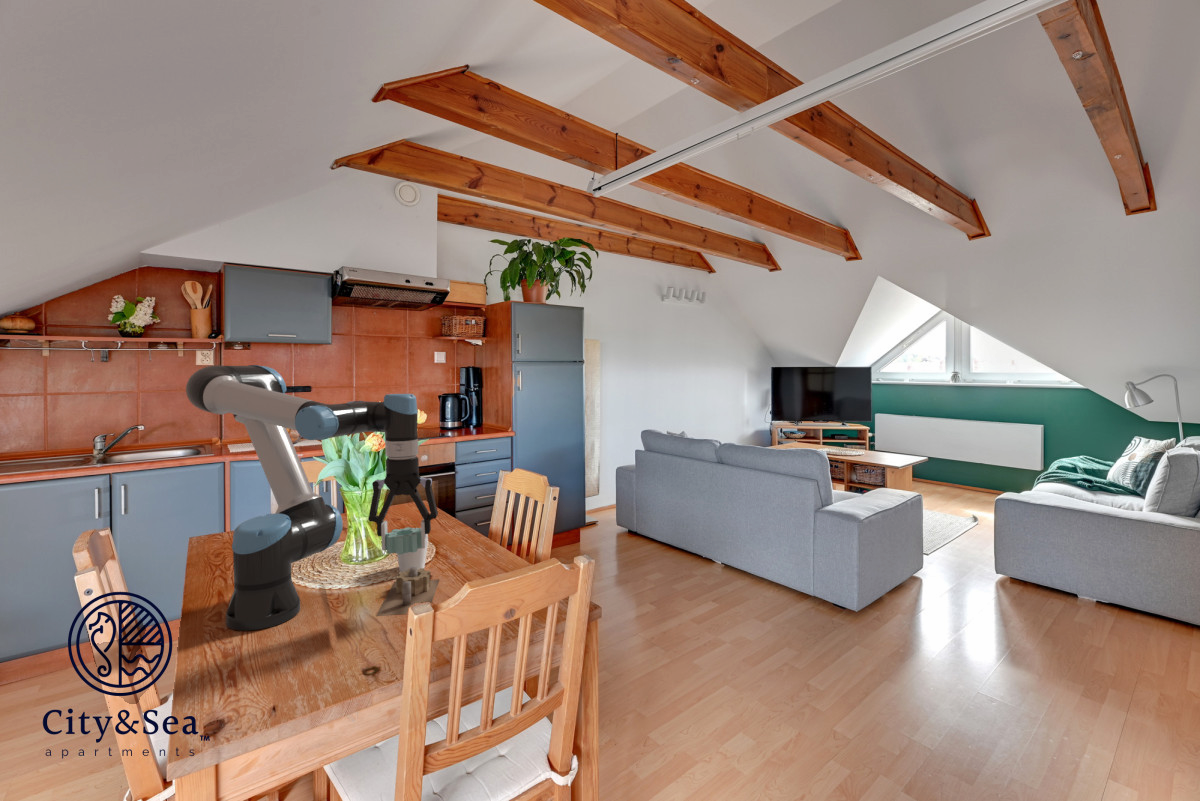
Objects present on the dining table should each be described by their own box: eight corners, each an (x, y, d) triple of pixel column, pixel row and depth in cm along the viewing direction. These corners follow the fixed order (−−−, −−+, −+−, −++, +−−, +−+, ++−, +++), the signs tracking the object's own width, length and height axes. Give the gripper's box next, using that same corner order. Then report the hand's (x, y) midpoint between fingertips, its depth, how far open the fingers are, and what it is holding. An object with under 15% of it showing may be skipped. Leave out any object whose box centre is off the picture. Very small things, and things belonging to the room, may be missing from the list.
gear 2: (400, 598, 135) (399, 583, 135) (393, 586, 142) (393, 571, 142) (434, 591, 139) (434, 576, 139) (426, 579, 147) (425, 565, 146)
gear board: (376, 620, 126) (375, 593, 125) (394, 585, 145) (394, 562, 145) (428, 617, 128) (428, 590, 127) (439, 583, 147) (439, 560, 147)
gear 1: (390, 543, 134) (390, 528, 133) (425, 541, 135) (425, 526, 135) (381, 555, 125) (381, 538, 125) (419, 553, 126) (418, 537, 126)
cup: (417, 580, 149) (417, 538, 149) (389, 577, 151) (388, 536, 150) (434, 568, 158) (433, 529, 157) (406, 565, 160) (406, 526, 159)
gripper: (351, 460, 123) (354, 555, 125) (445, 458, 127) (447, 550, 128) (360, 455, 131) (363, 544, 132) (449, 453, 134) (451, 540, 135)
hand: (404, 547), depth 130 cm, fingers closed on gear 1, 9 cm apart
